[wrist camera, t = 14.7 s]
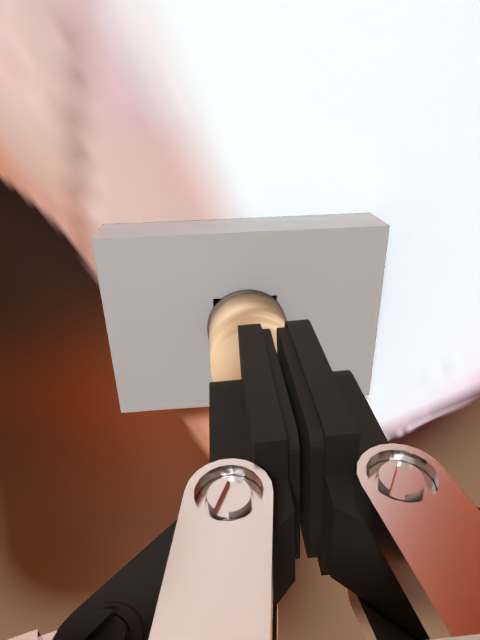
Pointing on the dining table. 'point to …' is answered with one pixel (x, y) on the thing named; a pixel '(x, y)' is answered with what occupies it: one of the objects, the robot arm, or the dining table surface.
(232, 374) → the maple peg
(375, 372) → the dining table surface
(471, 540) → the robot arm
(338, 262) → the grey block with hole
